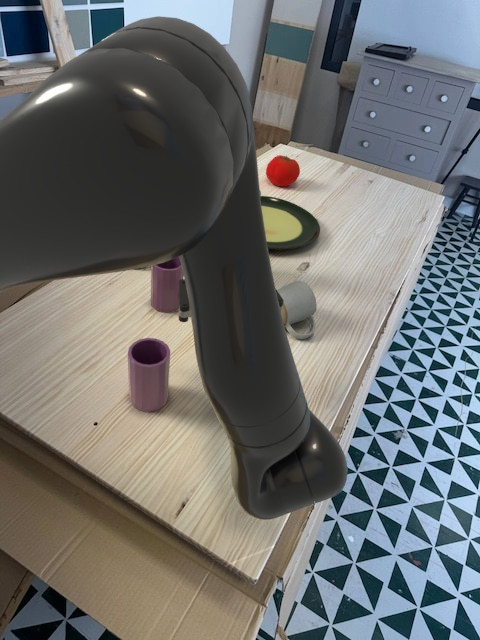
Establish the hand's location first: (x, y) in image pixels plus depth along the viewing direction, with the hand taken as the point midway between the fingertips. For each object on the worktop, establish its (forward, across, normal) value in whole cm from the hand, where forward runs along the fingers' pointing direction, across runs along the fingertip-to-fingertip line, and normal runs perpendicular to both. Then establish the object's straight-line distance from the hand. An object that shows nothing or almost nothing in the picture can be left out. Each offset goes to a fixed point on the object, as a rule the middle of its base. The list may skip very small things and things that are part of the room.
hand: (217, 267), depth 67 cm
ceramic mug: (+11, -19, +21) cm, 31 cm away
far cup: (+18, +4, +21) cm, 28 cm away
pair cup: (-5, +10, +21) cm, 24 cm away
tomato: (+75, -37, +21) cm, 86 cm away
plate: (+48, -25, +21) cm, 58 cm away
